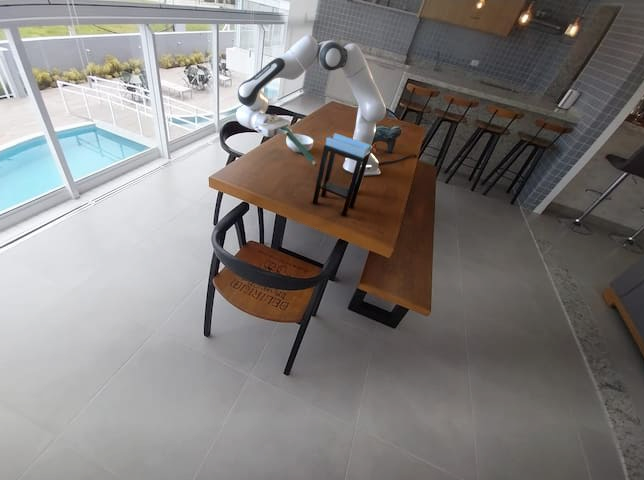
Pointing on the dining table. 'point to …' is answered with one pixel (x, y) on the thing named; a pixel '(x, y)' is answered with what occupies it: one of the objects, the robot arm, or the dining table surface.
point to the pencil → (299, 146)
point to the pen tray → (349, 145)
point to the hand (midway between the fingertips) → (288, 132)
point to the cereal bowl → (303, 139)
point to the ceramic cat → (387, 135)
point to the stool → (336, 188)
